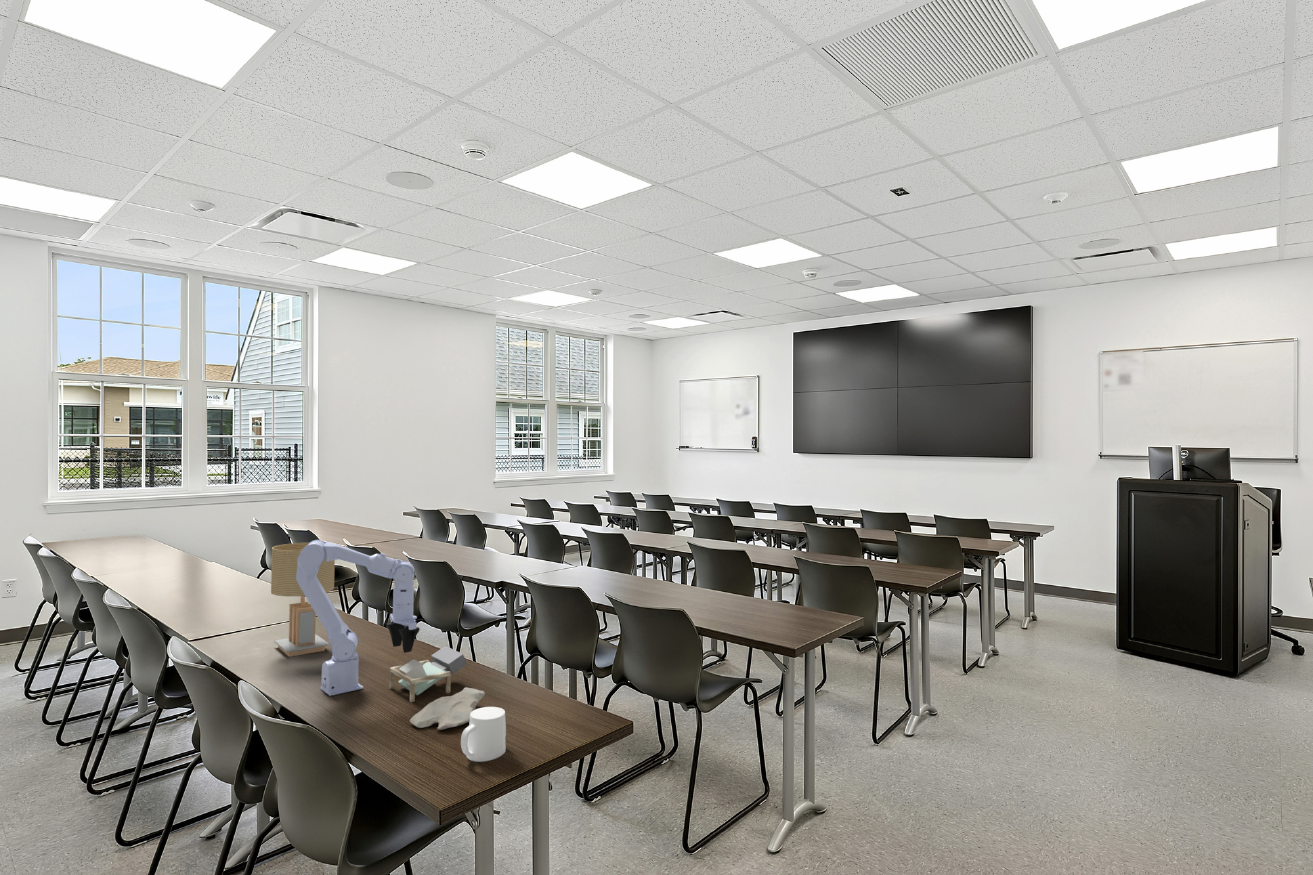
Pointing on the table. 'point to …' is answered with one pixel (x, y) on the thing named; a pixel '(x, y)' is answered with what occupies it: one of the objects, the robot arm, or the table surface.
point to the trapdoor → (439, 667)
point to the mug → (485, 734)
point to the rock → (449, 710)
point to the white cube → (413, 670)
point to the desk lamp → (301, 613)
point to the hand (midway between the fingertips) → (402, 648)
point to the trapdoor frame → (417, 679)
